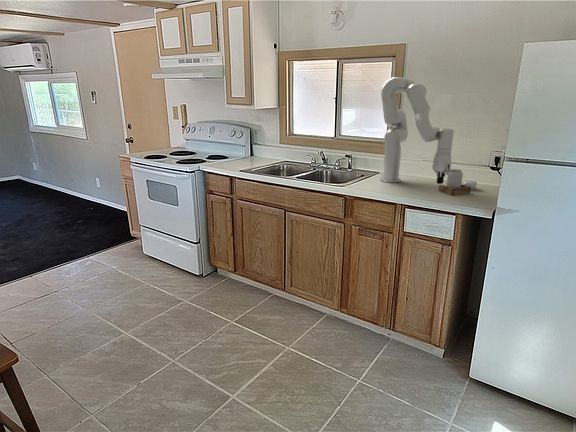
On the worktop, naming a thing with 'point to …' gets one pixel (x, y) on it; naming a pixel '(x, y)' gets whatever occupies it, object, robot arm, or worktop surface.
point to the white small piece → (470, 184)
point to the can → (454, 178)
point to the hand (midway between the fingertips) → (439, 183)
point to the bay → (455, 190)
